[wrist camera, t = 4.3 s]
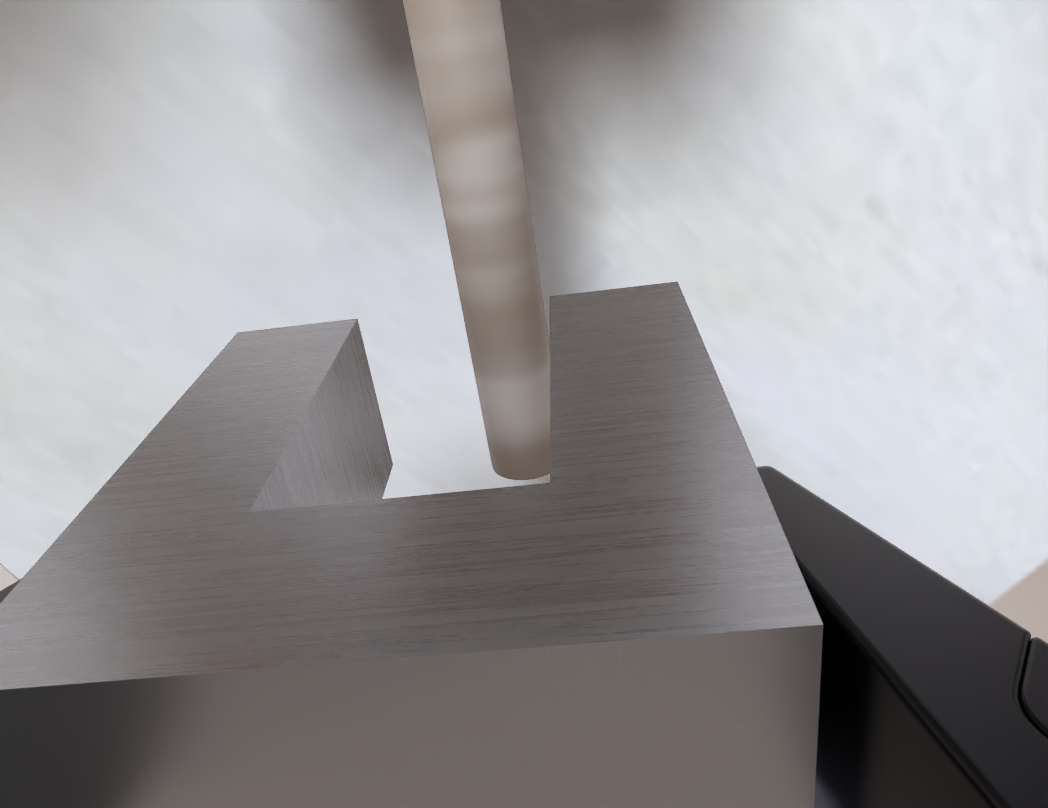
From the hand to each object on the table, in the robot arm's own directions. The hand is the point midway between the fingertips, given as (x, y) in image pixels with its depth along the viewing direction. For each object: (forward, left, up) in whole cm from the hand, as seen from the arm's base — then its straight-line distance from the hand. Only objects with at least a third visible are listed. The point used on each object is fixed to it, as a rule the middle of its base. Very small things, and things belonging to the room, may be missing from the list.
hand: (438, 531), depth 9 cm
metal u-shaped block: (0, 0, -4) cm, 4 cm away
